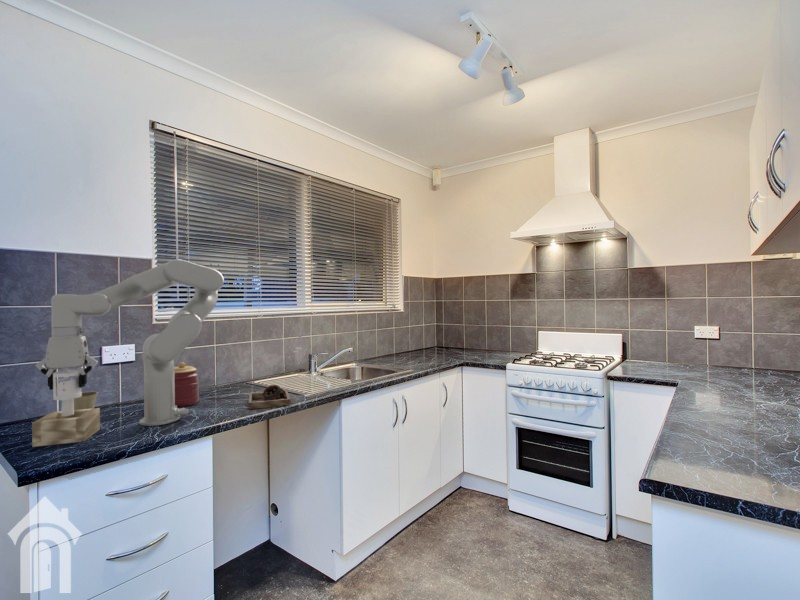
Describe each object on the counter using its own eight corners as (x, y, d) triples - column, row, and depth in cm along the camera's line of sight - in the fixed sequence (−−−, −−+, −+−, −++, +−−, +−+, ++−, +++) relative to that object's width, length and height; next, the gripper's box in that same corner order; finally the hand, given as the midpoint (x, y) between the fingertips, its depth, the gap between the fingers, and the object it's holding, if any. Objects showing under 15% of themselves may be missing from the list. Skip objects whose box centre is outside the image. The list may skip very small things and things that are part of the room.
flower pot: (69, 422, 145) (69, 398, 145) (64, 417, 151) (64, 394, 151) (101, 416, 152) (100, 394, 152) (95, 412, 158) (95, 390, 158)
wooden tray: (287, 395, 182) (287, 390, 182) (290, 405, 165) (290, 399, 165) (249, 398, 177) (249, 393, 177) (248, 409, 160) (248, 402, 160)
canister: (176, 408, 162) (175, 365, 162) (158, 405, 168) (157, 363, 168) (205, 401, 173) (205, 360, 173) (187, 398, 180) (187, 359, 180)
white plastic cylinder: (78, 410, 134) (78, 365, 134) (84, 414, 129) (84, 367, 129) (51, 415, 128) (50, 368, 128) (56, 419, 124) (55, 370, 124)
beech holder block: (99, 428, 137) (99, 407, 137) (84, 441, 125) (84, 418, 125) (53, 433, 133) (53, 411, 133) (32, 446, 121) (32, 422, 121)
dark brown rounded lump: (291, 402, 172) (285, 388, 168) (272, 415, 167) (265, 401, 163) (278, 391, 180) (272, 377, 176) (259, 403, 175) (253, 389, 171)
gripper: (103, 330, 135) (104, 383, 135) (39, 332, 130) (40, 387, 130) (94, 332, 128) (95, 387, 128) (26, 334, 123) (27, 392, 122)
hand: (67, 387), depth 129 cm, fingers closed on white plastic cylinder, 7 cm apart
